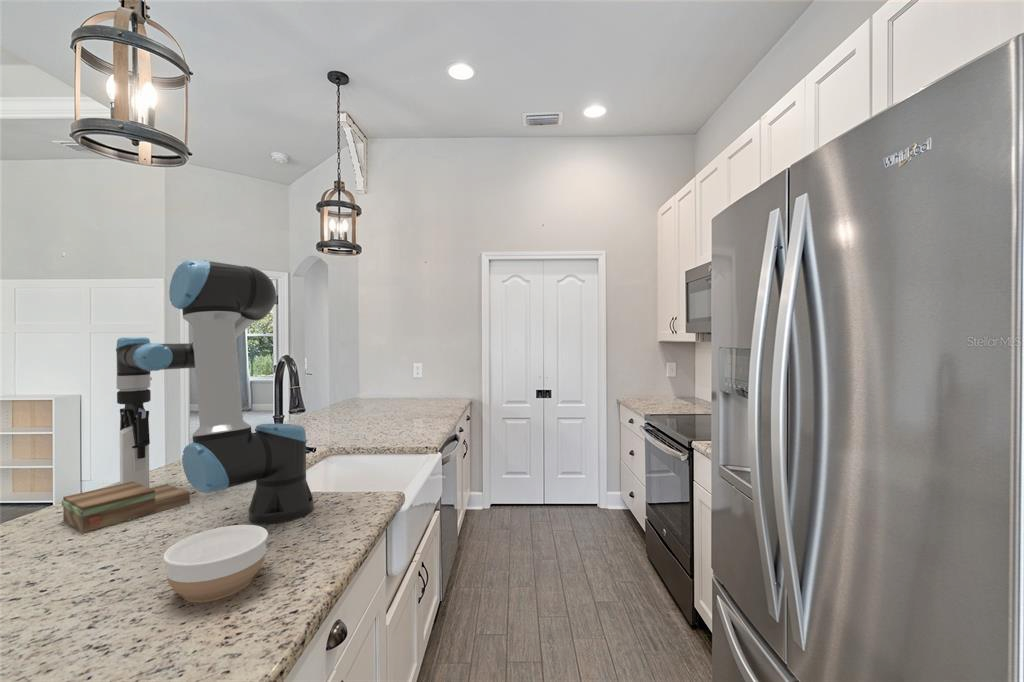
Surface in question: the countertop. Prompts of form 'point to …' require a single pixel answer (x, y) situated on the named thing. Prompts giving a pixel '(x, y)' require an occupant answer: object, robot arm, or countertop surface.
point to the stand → (119, 504)
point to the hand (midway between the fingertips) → (134, 467)
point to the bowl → (215, 562)
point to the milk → (131, 460)
